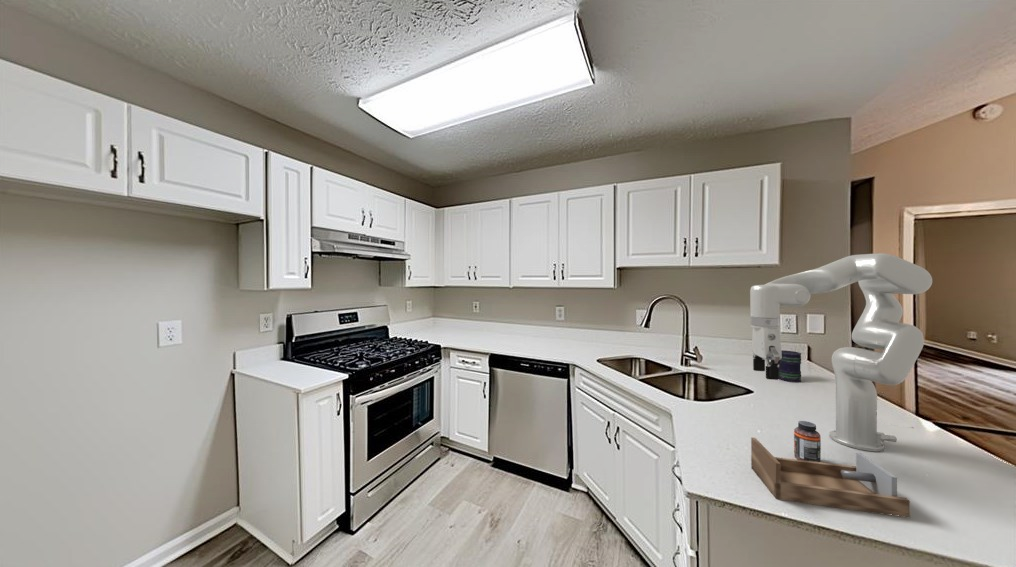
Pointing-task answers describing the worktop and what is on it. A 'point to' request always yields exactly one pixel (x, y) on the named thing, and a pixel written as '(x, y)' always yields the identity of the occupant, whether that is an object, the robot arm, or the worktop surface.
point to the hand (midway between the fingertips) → (765, 374)
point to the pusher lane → (820, 484)
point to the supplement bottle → (807, 442)
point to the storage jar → (790, 366)
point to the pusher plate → (872, 476)
